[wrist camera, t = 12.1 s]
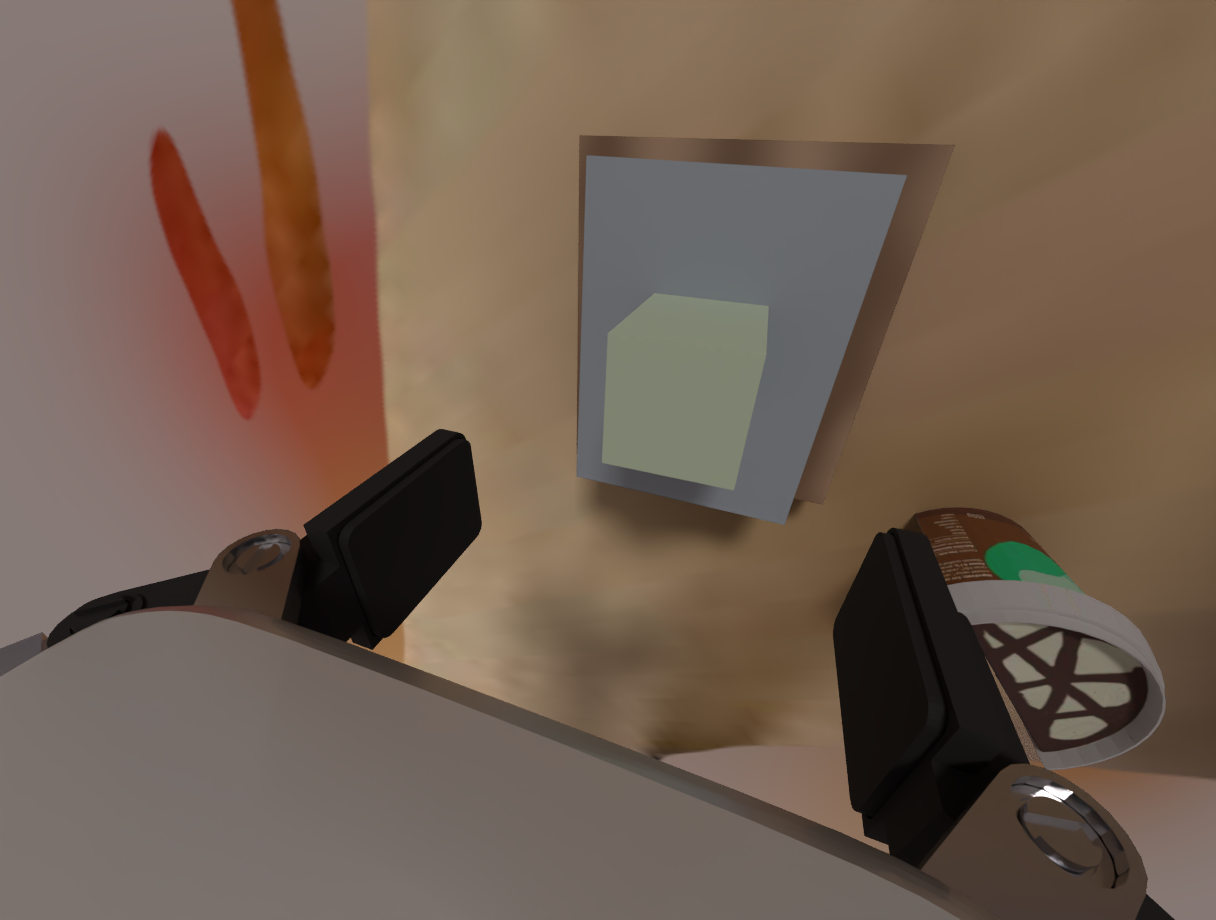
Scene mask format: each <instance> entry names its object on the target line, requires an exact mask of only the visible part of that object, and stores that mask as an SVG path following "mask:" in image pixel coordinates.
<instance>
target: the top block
mask: <svg viewBox="0 0 1216 920" xmlns="http://www.w3.org/2000/svg"><path fill="white" fill-rule="evenodd" d="M906 177H907V175H896V174H880V173H864V172H848V171H832V170H816V169H799V168H783V167H767V166H751V165H735V164H719V163H703V162H687V161H671V160H655V159H639V158H623V157H606V156H590V155H587V156H586V189H585V221H584V254H583V286H582V319H581V351H580V384H579V416H578V449H577V477H582V478H586V479H590V480H595V481H599V482H603V483H607V484H612V485H616V486H620V487H625V488H629V489H633V490H637V491H642V492H646V493H650V494H654V495H659V496H663V497H667V498H672V499H676V500H680V501H684V502H689V503H693V504H697V505H701V506H706V507H710V508H714V509H719V510H723V511H727V512H731V513H736V514H740V515H744V516H748V517H753V518H757V519H761V520H766V521H770V522H774V523H778V524H783V525H785V522H786V519H787V516H788V513H789V510H790V507H791V505H792V502H793V499H794V496H795V493H796V490H797V488H798V485H799V482H800V479H801V476H802V473H803V470H804V468H805V465H806V462H807V459H808V456H809V453H810V451H811V448H812V445H813V442H814V439H815V436H816V433H817V431H818V428H819V425H820V422H821V419H822V416H823V413H824V411H825V408H826V405H827V402H828V399H829V396H830V394H831V391H832V388H833V385H834V382H835V379H836V376H837V374H838V371H839V368H840V365H841V362H842V359H843V357H844V354H845V351H846V348H847V345H848V342H849V339H850V337H851V334H852V331H853V328H854V325H855V322H856V320H857V317H858V314H859V311H860V308H861V305H862V302H863V300H864V297H865V294H866V291H867V288H868V285H869V283H870V280H871V277H872V274H873V271H874V268H875V265H876V263H877V260H878V257H879V254H880V251H881V248H882V245H883V243H884V240H885V237H886V234H887V231H888V228H889V226H890V223H891V220H892V217H893V214H894V211H895V208H896V206H897V203H898V200H899V197H900V194H901V191H902V189H903V186H904V183H905V180H906ZM654 293H657V294H666V295H675V296H684V297H693V298H701V299H710V300H719V301H728V302H737V303H746V304H755V305H763V306H769V310H768V330H767V350H766V358H765V362H764V367H763V371H762V375H761V379H760V383H759V388H758V392H757V396H756V400H755V404H754V409H753V413H752V417H751V421H750V425H749V430H748V434H747V438H746V442H745V446H744V450H743V455H742V459H741V463H740V467H739V471H738V476H737V480H736V484H735V488H734V490H730V489H725V488H720V487H715V486H710V485H706V484H701V483H696V482H691V481H687V480H682V479H677V478H672V477H667V476H663V475H658V474H653V473H648V472H644V471H639V470H634V469H629V468H624V467H620V466H615V465H610V464H605V463H602V449H603V428H604V406H605V384H606V363H607V341H608V333H609V332H610V331H611V330H612V329H613V328H615V327H616V326H617V325H618V324H619V323H620V322H622V321H623V320H624V319H625V318H626V317H627V316H629V315H630V314H631V313H632V312H633V311H634V310H636V309H637V308H638V307H639V306H640V305H641V304H643V303H644V302H645V301H646V300H647V299H648V298H650V297H651V296H652V295H653V294H654Z"/></svg>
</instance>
